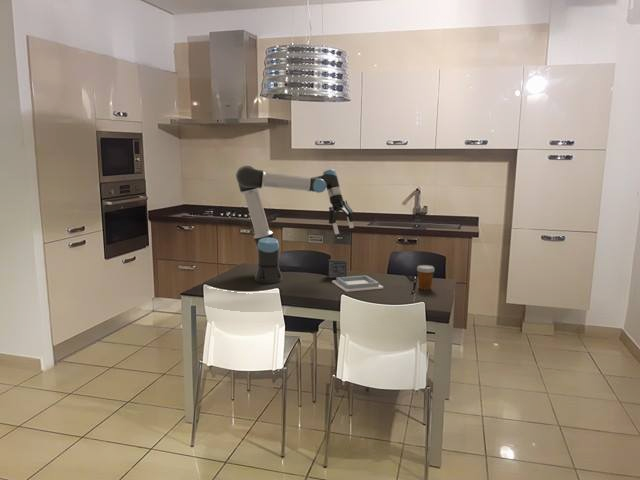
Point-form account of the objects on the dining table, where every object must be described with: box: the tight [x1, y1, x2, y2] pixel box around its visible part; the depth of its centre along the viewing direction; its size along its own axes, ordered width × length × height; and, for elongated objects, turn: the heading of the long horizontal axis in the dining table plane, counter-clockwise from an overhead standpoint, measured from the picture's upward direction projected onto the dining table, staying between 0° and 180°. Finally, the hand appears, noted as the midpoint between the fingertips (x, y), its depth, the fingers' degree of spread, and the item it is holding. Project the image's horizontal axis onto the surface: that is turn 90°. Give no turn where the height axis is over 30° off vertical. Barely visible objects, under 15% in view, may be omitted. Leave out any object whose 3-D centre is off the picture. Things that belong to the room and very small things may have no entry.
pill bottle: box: [416, 264, 436, 291], centre depth 276 cm, size 10×10×12 cm
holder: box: [331, 274, 384, 293], centre depth 280 cm, size 22×20×3 cm
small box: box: [327, 258, 348, 280], centre depth 296 cm, size 11×6×10 cm, turn 84°
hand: (344, 231), depth 293 cm, fingers open, 13 cm apart
